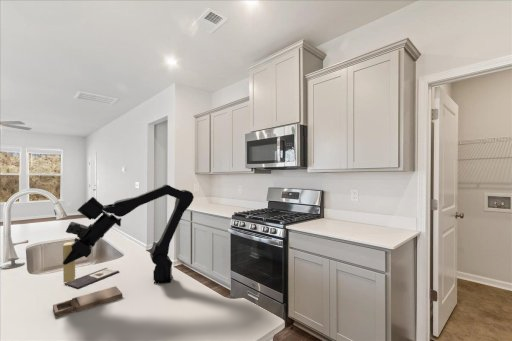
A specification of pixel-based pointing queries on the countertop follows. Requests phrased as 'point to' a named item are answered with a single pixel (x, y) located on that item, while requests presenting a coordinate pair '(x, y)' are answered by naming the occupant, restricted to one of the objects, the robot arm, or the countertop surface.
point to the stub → (70, 267)
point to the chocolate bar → (91, 278)
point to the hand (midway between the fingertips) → (64, 261)
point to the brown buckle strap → (87, 301)
